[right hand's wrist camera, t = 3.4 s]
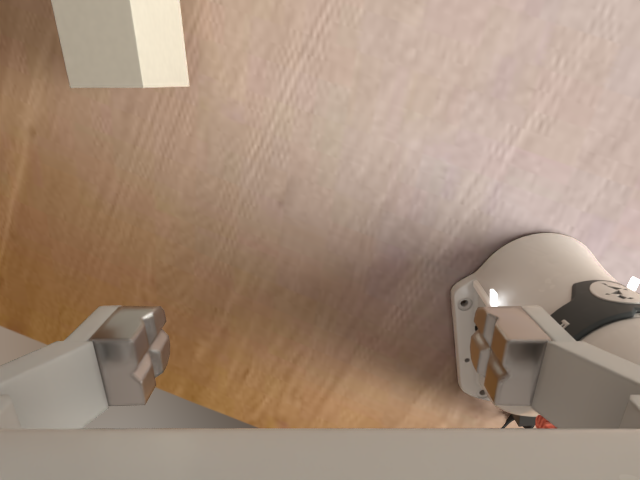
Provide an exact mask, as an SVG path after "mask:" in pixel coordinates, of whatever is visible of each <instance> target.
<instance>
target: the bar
mask: <svg viewBox="0 0 640 480" xmlns="http://www.w3.org/2000/svg"><path fill="white" fill-rule="evenodd" d="M51 3H52V7H53V12H54V17H55V21H56V26H57V30H58V35H59V39H60V44H61V48H62V53H63V57H64V62H65V66H66V71H67V75H68V80H69V85H70V88H158V87H189V79H188V70H187V61H186V52H185V44H184V35H183V26H182V17H181V9H180V0H51Z"/></svg>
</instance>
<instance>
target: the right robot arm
mask: <svg viewBox="0 0 640 480" xmlns="http://www.w3.org/2000/svg"><path fill="white" fill-rule="evenodd" d="M639 283H640V280H639V279H637V278H635V277H632V278H631V280H630V282H629V284H628V286H627V287H626V286H624V285H622V284H620V283H618V282H617V281H616V280H615V279H614V278H613V277H612V276H611V275H610V274H609V273H608V272H607V271H606V270H605V269H604V268H603V267H602V266H601V265H600V263H599V262H598V261H597V260H596V258H595V257H594V255H593V254H592V253H591V251H590V250H589V249H588V248H587V247H586V246H585V245H584V244H582V243H581V242H580V241H578V240H576V239H574V238H572V237H569V236H566V235H563V234H557V233H538V234H532V235H528V236H524V237H521V238H519V239H516V240H514V241H512V242H510V243H508V244H506V245H504V246H503V247H501V248H500V249H499V250H497V251H496V252H495V253H494V254H492V255H491V256H490V257H489V258H488V259H487V260H486V261H485V263H484V264H483V265H482V266H481V267H480V268H479V269H478V270H477V271H476V272H475V273H473V274H471V275H469V276H468V277H466V278H464V279H462V280H460V281H459V282H457V283H456V284H455V285H454V286H453V287H452V289H451V305H452V317H453V329H454V341H455V353H456V365H457V376H458V384H459V386H460V388H461V389H462V391H463V392H465V393H467V394H469V395H471V396H473V397H476V398H479V399H483V400H487V401H491V402H492V403H493V404H494V405H495V406H496V407H498V408H499V409H501V410H503V411H505V412H508V413H511V415H510V416H509V418H508V419H507V421H506V423H505V424H504V426H503V427H502V428H253V429H252V428H251V429H250V428H248V429H246V428H241V429H240V428H238V429H237V428H236V429H235V428H233V429H231V428H228V429H227V428H226V429H225V428H218V429H217V428H185V429H184V428H183V429H181V428H175V429H173V428H170V429H169V428H163V429H162V428H160V429H159V428H149V429H148V428H83V427H85V426H86V425H87V424H89V423H90V422H91V421H93V420H94V419H95V418H97V417H98V416H99V415H100V414H102V413H103V412H104V411H106V410H107V409H108V408H109V406H131V405H145V404H146V403H147V401H148V399H149V397H150V395H151V394H152V392H153V390H154V388H155V386H156V381H155V378H156V377H157V376H159V375H160V374H162V373H163V372H164V370H165V368H166V366H167V364H168V360H169V355H170V341H169V336H168V335H167V334H166V333H165V332H164V331H163V330H162V327H163V326H164V324H165V323H166V317H165V312H164V310H163V309H162V307H161V306H121V305H114V306H100V307H98V308H97V309H96V310H95V311H94V312H93V313H92V314H91V315H90V316H89V317H88V318H87V319H86V320H85V321H84V322H83V323H82V324H81V325H80V326H79V327H78V328H77V329H76V330H75V331H73V332H72V333H71V334H70V335H69V336H68V337H67V338H66V339H65V340H64V341H56V342H54V343H52V344H49V345H47V346H45V347H43V348H40V349H38V350H36V351H33V352H31V353H29V354H26V355H24V356H22V357H19V358H17V359H15V360H12V361H10V362H8V363H6V364H3V365H1V366H0V480H640V294H639V293H637V292H635V290H636V288H637V286H638V284H639ZM463 300H466V302H465V303H461V302H462V301H463ZM481 390H482V391H481ZM513 420H515V421H516V423H517V424H518V426H519V427H520V426H523V427H524V428H505V427H506V426H507V425H508V424H509V423H510V422H512V421H513ZM534 425H536V428H533V427H534Z"/></svg>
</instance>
